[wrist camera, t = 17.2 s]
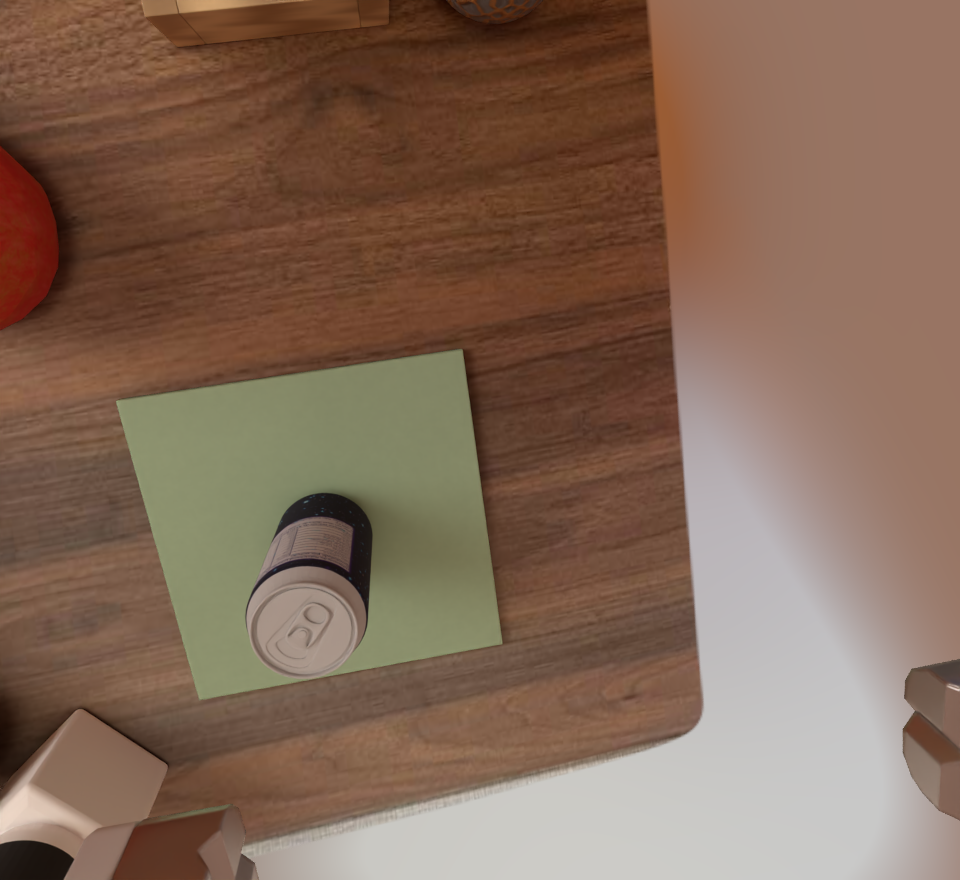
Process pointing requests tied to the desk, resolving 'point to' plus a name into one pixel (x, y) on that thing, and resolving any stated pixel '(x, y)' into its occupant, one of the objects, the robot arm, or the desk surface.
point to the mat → (310, 470)
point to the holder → (258, 18)
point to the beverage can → (313, 588)
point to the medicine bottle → (72, 796)
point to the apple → (24, 242)
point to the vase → (494, 9)
